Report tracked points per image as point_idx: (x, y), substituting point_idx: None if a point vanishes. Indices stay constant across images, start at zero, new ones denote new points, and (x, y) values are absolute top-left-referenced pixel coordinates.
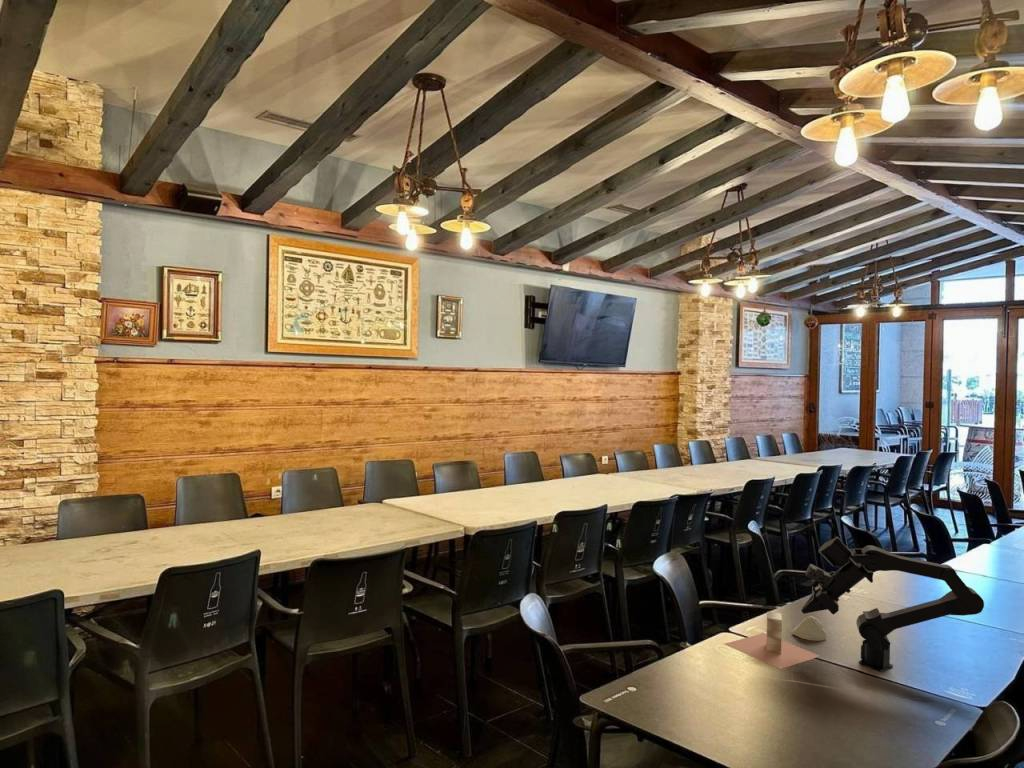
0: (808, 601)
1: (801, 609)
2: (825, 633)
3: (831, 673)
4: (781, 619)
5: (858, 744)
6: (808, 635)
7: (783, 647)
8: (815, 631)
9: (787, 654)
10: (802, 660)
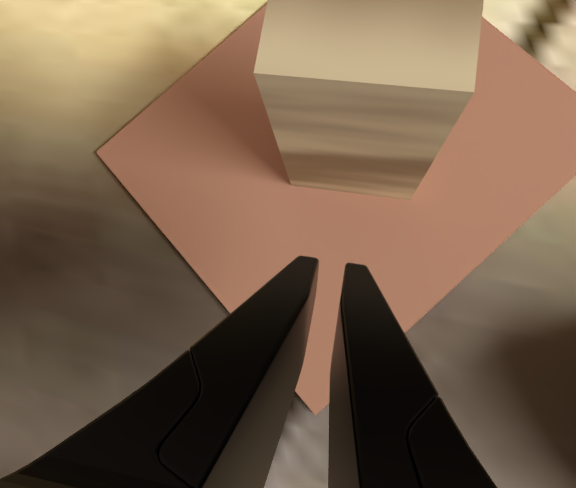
0: (345, 384)
1: (346, 263)
2: None
3: (101, 410)
4: (269, 71)
5: None
6: None
7: (398, 214)
8: None
9: (293, 219)
10: (223, 285)
